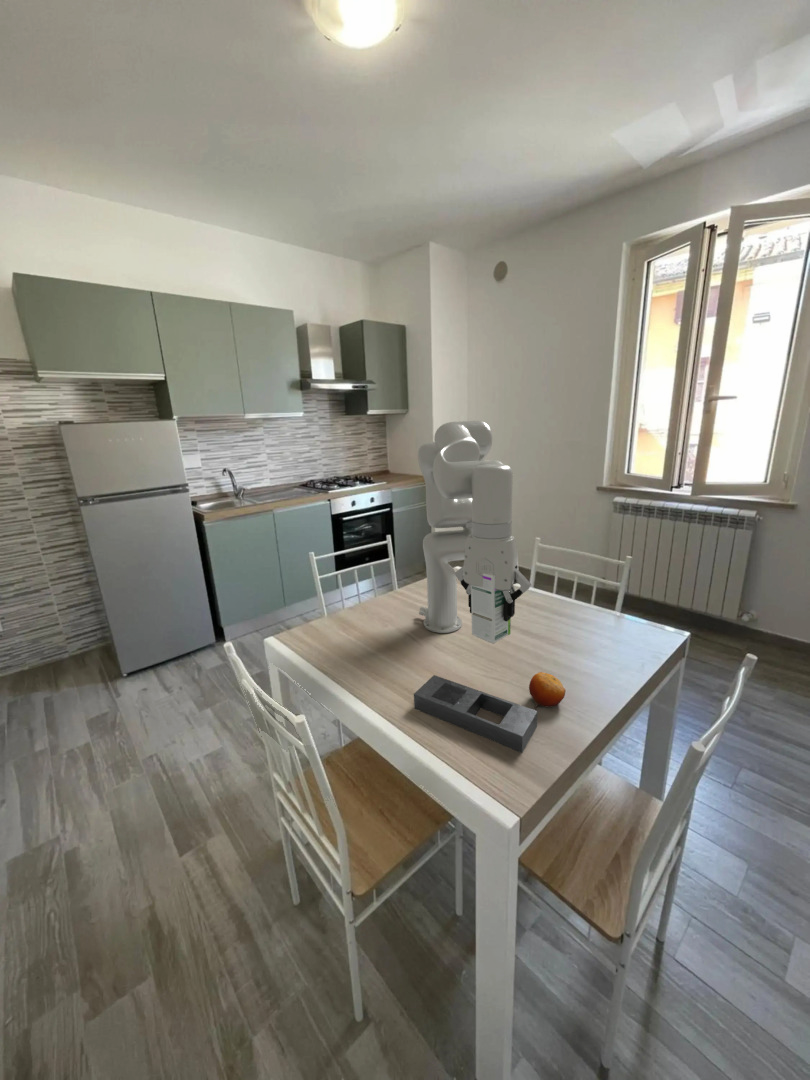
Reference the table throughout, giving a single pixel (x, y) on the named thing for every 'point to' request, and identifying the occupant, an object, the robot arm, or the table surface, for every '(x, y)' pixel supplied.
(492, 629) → the syrup box
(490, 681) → the table surface
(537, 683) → the fruit
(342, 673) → the table surface
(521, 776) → the table surface
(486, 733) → the grey slotted holder
